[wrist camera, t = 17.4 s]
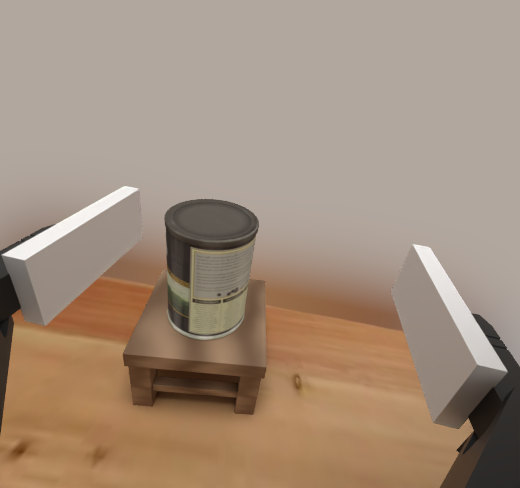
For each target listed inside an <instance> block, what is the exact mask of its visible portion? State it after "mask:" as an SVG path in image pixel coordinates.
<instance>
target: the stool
mask: <svg viewBox="0 0 520 488" xmlns="http://www.w3.org/2000/svg"><path fill="white" fill-rule="evenodd" d="M167 310H168V290H167V270H163V271H162V273H161V275H160V277H159V280H158V282H157V284H156V286H155V288H154V290H153V292H152V294H151V296H150V298H149V300H148V302H147V304H146V307H145V309H144V311H143V313H142V315H141V317H140V319H139V321H138V323H137V325H136V327H135V330H134V332H133V334H132V336H131V338H130V340H129V342H128V344H127V346H126V348H125V350H124V353H123V359H124V366H128V367H129V375H130V382H131V390H132V398H133V405H143V406H153V403H154V400H155V397H156V393H157V391H164V392H176V393H188V394H200V395H212V396H224V397H235V398H236V403H235V413H242V414H253V412H254V408H255V403H256V398H257V394H258V389H259V385H260V380H261V378H264V376H265V372H266V367H267V365H266V313H265V281H261V280H252V279H249V284H248V290H247V297H246V303H245V314H244V319H243V321H242V323H241V325H240V326H239V327H238V328H237V329H236V330H235V331H234V332H232V333H231V334H229V335H227V336H225V337H222V338H219V339H213V340H198V339H192V338H189V337H187V336H184V335H182V334H181V333H179V332H178V331H176V330H175V329H174V328H173V326H172V325H171V324H170V322H169V320H168V315H167ZM157 369H165V370H177V371H188V372H199V373H210V374H221V375H232V376H239V380H238V383H229V382H217V381H206V380H194V379H183V378H172V377H160V376H157Z"/></svg>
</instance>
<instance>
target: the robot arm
mask: <svg viewBox="0 0 520 488" xmlns="http://www.w3.org/2000/svg"><path fill="white" fill-rule="evenodd" d="M140 206H141V205H140V192H139V189H138V188H133V187H127V186H124V187H122V188H120V189H118V190H116V191H115V192H113V193H111V194H109V195H108V196H106V197H104V198H102V199H100V200H99V201H97V202H95V203H93V204H92V205H90V206H88V207H86V208H84V209H83V210H81V211H79V212H77V213H76V214H74V215H72V216H70V217H68V218H67V219H65V220H63V221H61V222H60V223H58V224H55V225H52V226H48V227H45V228H42V229H40V230H38V231H36V232H34V233H32V234H31V235H30V236H27V237H25V238H23V239H21V241H18V242H16V243H14V244H12V245H10V246H9V247H7V248H5V249H3V250H1V251H0V433H1V425H2V417H3V408H4V400H5V392H6V384H7V375H8V367H9V359H10V351H11V342H12V334H13V326H14V322H13V318H12V316H11V315H12V314H14V313H15V312H16V311H17V310H19V309H20V308H21V311H22V314H23V317H24V320H25V321H27V322H31V323H35V324H39V325H43V326H46V325H47V324H48V323H49V322H50V321H51V320H52V319H53V318H55V317H56V316H57V315H58V314H59V313H60V312H61V311H62V310H63V309H64V308H66V307H67V306H68V305H69V304H70V303H71V302H72V301H73V300H74V299H75V298H77V297H78V296H79V295H80V294H81V293H82V292H83V291H84V290H85V289H87V288H88V287H89V286H90V285H91V284H92V283H93V282H94V281H95V280H96V279H98V278H99V277H100V276H101V275H102V274H103V273H104V272H105V271H106V270H107V269H108V268H110V267H111V266H112V265H113V264H114V263H115V262H116V261H117V260H118V259H120V258H121V257H122V256H123V255H124V254H125V253H126V252H127V251H128V250H130V249H131V248H132V247H133V246H134V245H135V244H136V243H137V242H138V241H139V240H141V239H142V238H143V234H142V220H141V207H140ZM391 293H392V296H393V299H394V303H395V306H396V309H397V312H398V315H399V318H400V321H401V324H402V327H403V331H404V334H405V337H406V340H407V343H408V346H409V349H410V352H411V355H412V359H413V362H414V365H415V368H416V371H417V374H418V377H419V380H420V384H421V387H422V390H423V393H424V396H425V399H426V402H427V405H428V408H429V412H430V415H431V418H432V421H433V423H436V424H440V425H444V426H448V427H452V428H456V429H459V428H460V427H461V426H462V425H463V424H464V422H465V421H466V420H467V419H468V418H469V420H470V422H471V425H472V427H473V429H474V432H473V433H472V434H471V435H470V436H469V437H468V438H467V439H466V440H465V441H464V443H463V444H462V445H461V446H460V447H459V448H458V449H457V451H458V452H459V455H458V457H457V458H456V460H455V462H454V464H453V465H452V467H451V469H450V471H449V473H448V474H447V476H446V478H445V480H444V481H443V483H442V485H441V487H440V488H520V367H519V365H518V364H517V362H516V361H515V359H514V358H513V356H512V355H511V353H510V352H509V351H508V350H507V347H506V346H505V344H504V343H503V342H502V340H500V337H499V336H498V334H497V333H496V331H495V330H494V328H493V327H492V326H491V325H490V324H489V323H488V322H487V321H486V320H485V319H483V318H482V317H481V316H480V315H477V314H472V313H471V312H470V311H469V309H468V307H467V306H466V304H465V303H464V301H463V300H462V298H461V297H460V295H459V293H458V292H457V290H456V288H455V287H454V285H453V284H452V282H451V280H450V279H449V277H448V276H447V274H446V272H445V271H444V269H443V268H442V266H441V265H440V263H439V261H438V260H437V258H436V257H435V255H434V253H433V252H432V250H431V249H430V248H429V247H425V246H420V245H415V244H412V246H411V249H410V250H409V252H408V255H407V257H406V259H405V261H404V264H403V266H402V268H401V270H400V272H399V274H398V277H397V279H396V281H395V283H394V285H393V287H392V290H391Z"/></svg>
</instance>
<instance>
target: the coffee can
mask: <svg viewBox="0 0 520 488" xmlns="http://www.w3.org/2000/svg"><path fill="white" fill-rule="evenodd" d="M165 226H166V245H167V290H168V310H167V315H168V320H169V322H170V324H171V325H172V326H173V328H174V329H175V330H176V331H178V332H179V333H181V334H182V335H184V336H187V337H189V338H192V339H198V340H213V339H219V338H222V337H225V336H227V335H229V334H231V333H232V332H234V331H235V330H236V329H237V328H238V327H239V326H240V325H241V323H242V321H243V319H244V314H245V303H246V297H247V290H248V284H249V277H250V271H251V264H252V258H253V251H254V245H255V238H256V233H257V231H258V227H259V221H258V219H257V217H256V216H255V215H254V214H253V213H252V212H251V211H249V210H248V209H246V208H245V207H242V206H240V205H237V204H235V203H231V202H227V201H222V200H213V199H198V200H190V201H185V202H182V203H179V204H176V205H174V206H173V207H171V208H170V209H169V210H168V211H167V212H166V214H165Z"/></svg>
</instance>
